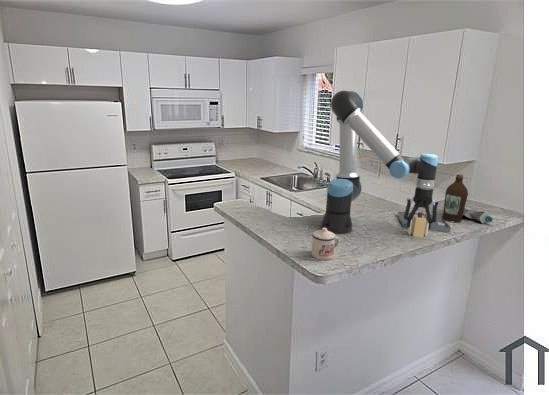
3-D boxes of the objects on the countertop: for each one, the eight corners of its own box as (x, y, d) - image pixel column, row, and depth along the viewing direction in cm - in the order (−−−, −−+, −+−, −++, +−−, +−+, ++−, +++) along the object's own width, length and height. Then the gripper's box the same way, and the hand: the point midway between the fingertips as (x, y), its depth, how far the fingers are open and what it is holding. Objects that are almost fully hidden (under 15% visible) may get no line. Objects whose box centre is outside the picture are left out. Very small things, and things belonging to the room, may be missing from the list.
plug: (413, 236, 166) (416, 214, 163) (410, 232, 172) (414, 210, 169) (423, 237, 165) (427, 215, 162) (420, 233, 171) (424, 211, 168)
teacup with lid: (318, 262, 136) (320, 233, 132) (306, 252, 143) (308, 225, 140) (344, 257, 141) (347, 230, 137) (331, 248, 148) (333, 222, 145)
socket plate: (403, 227, 177) (404, 221, 176) (397, 215, 196) (398, 209, 195) (449, 232, 173) (451, 225, 172) (439, 219, 192) (440, 213, 191)
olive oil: (445, 215, 200) (452, 172, 193) (465, 220, 193) (474, 175, 186) (438, 219, 193) (446, 174, 186) (458, 224, 186) (467, 178, 179)
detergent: (440, 213, 204) (480, 226, 182) (443, 201, 202) (484, 213, 180) (456, 212, 209) (497, 226, 187) (459, 201, 208) (500, 213, 186)
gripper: (403, 187, 160) (397, 235, 166) (449, 191, 157) (441, 239, 163) (400, 184, 167) (394, 229, 173) (445, 187, 164) (437, 233, 170)
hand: (417, 234), depth 168 cm, fingers open, 7 cm apart
